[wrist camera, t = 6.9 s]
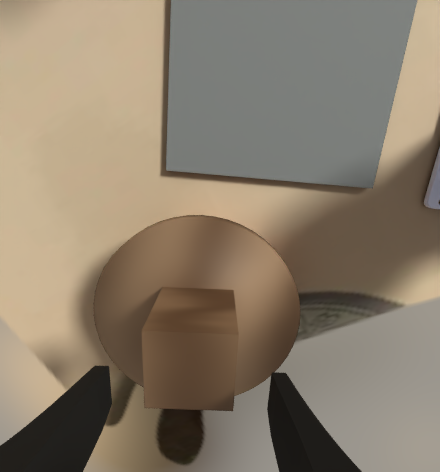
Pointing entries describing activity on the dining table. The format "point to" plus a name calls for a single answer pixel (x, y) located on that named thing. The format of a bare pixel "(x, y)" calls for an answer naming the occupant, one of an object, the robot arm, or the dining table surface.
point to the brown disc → (196, 311)
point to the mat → (284, 87)
